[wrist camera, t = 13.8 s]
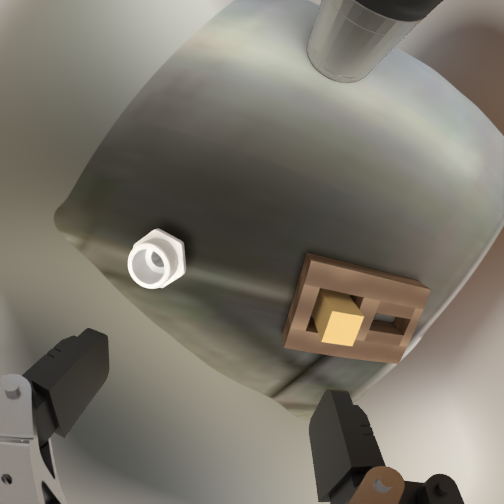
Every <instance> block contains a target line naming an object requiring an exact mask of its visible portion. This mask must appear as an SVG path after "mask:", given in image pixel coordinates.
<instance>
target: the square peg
mask: <svg viewBox="0 0 504 504" xmlns="http://www.w3.org/2000/svg"><path fill="white" fill-rule="evenodd" d="M312 316H313V319H314V322H315V325H316V328H317V331H318V334H319V337H320V340H321V342H325V343H332V344H339V345H346V346H353V344H354V341H355V339H356V336H357V334H358V331H359V329H360V326H361V324H362V321H363V319H364V316H363V314H362V313H361V311H360V310H359V309H358V307H357V306H356V304H355V303H354V302H353V300H352V299H351V298H350V296H349V295H348V294H346V293H341V292H337V291H332V290H327V289H323V288H320V289H319V293H318V296H317V299H316V302H315V305H314V308H313V311H312Z"/></svg>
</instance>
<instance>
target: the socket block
mask: <svg viewBox="0 0 504 504" xmlns="http://www.w3.org/2000/svg"><path fill="white" fill-rule="evenodd" d="M320 288H323V289H327V290H332V291H337V292H341V293H346V294H350V295H352V296H351V299H352V300H353V302H354V303H355V304H356V306H357V307H358V309H359V310H360V311H361V313H362V314H363V316H364V319H363V321H362V324H361V326H360V329H359V331H358V334H357V336H356V339H355V341H354V344H353V346H346V345H339V344H332V343H325V342H321V340H320V337H319V334H318V331H317V328H316V325H315V322H314V320H313V319H310V317H311V314H312V311H313V308H314V305H315V302H316V299H317V296H318V293H319V289H320ZM430 291H431V289H429V288H428V287H426V286H425V285H424V284H422V283H421V282H419V281H417V280H413V279H410V278H406V277H402V276H398V275H394V274H390V273H386V272H382V271H378V270H374V269H370V268H367V267H363V266H359V265H355V264H351V263H347V262H343V261H339V260H335V259H331V258H326V257H322V256H318V255H314V254H310V253H306V256H305V259H304V263H303V266H302V270H301V273H300V277H299V280H298V284H297V287H296V290H295V294H294V297H293V300H292V304H291V307H290V310H289V313H288V316H287V320H286V323H285V326H284V329H283V332H282V335H283V344H284V348H289V349H295V350H300V351H306V352H312V353H318V354H324V355H331V356H337V357H344V358H352V359H360V360H368V361H377V362H386V363H397V364H398V363H399V362H400V360H401V358H402V356H403V354H404V352H405V350H406V348H407V345H408V343H409V341H410V339H411V337H412V335H413V333H414V330H415V328H416V326H417V324H418V321H419V319H420V317H421V314H422V312H423V309H424V307H425V304H426V302H427V299H428V297H429V294H430ZM376 313H380V314H385V315H390V316H396V318H395V320H394V323H389V322H383V321H377V320H373V319H374V316H375V314H376Z"/></svg>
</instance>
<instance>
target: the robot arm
mask: <svg viewBox="0 0 504 504" xmlns="http://www.w3.org/2000/svg"><path fill="white" fill-rule="evenodd" d="M442 1H443V0H321V4H320V7H319V10H318V13H317V16H316V20H315V23H314V26H313V29H312V32H311V35H310V38H309V42H308V46H307V53H308V56H309V59H310V61H311V63H312V64H313V66H314V67H315V68H316V69H317V70H318V71H319V72H320V73H322V74H323V75H325V76H326V77H328V78H330V79H333V80H335V81H340V82H356V81H358V80H361V79H362V78H364V77H365V76H366V75H367V74H368V73H369V72H370V71H371V70H372V69H373V68H374V67H375V66H376V65H377V64H378V63H379V62H380V61H381V60H382V59H383V58H384V57H385V56H386V55H387V54H388V53H389V52H390V51H391V50H392V49H393V48H394V47H395V46H396V45H397V44H398V43H399V42H400V41H401V40H402V39H403V38H404V37H405V36H406V35H407V34H408V33H409V32H410V31H411V30H412V29H413V28H414V27H415V26H416V25H417V24H418V23H419V22H420V21H421V20H422V19H424V18H425V17H426V16H427V15H428V14H429V13H430V12H431V11H432V10H433V9H434V8H435V7H436V6H437V5H438V4H440V3H441V2H442ZM108 373H109V351H108V337H107V335H105V334H103V333H100V332H98V331H95V330H93V329H90V328H87V329H86V330H85V331H83V332H82V333H81V334H80V335H79V336H78V337H76V336H71V337H69V338H66V339H63V340H61V341H60V342H59V343H58V344H57V345H56V346H55V347H54V349H51V350H50V351H49V352H48V353H47V355H44V356H43V357H42V358H41V359H40V360H39V361H38V362H37V363H35V364H34V365H33V366H32V367H31V368H30V369H29V370H28V371H26V372H25V373H24V374H23V375H22V376H20V375H17V374H6V375H3V376H1V377H0V504H68V503H67V501H66V498H65V496H64V494H63V491H62V489H61V486H60V484H59V480H58V476H57V471H56V467H55V461H54V456H53V451H52V445H51V440H50V437H51V436H52V434H53V433H54V432H55V433H57V434H58V435H60V436H62V437H64V438H65V436H66V435H67V433H68V432H69V431H70V429H71V428H72V426H73V425H74V423H75V422H76V421H77V419H78V418H79V416H80V415H81V414H82V412H83V411H84V410H85V408H86V407H87V405H88V404H89V403H90V401H91V400H92V398H93V397H94V396H95V395H96V393H97V392H98V391H99V389H100V388H101V387H102V385H103V384H104V382H105V381H106V379H107V377H108ZM309 436H310V442H311V449H312V457H313V464H314V471H315V478H316V485H317V494H318V502H330V503H331V504H464V502H463V499H462V497H461V495H460V492H459V490H458V487H457V485H456V483H455V482H454V480H452V479H451V478H450V477H449V476H447V475H444V474H436V475H433V476H432V477H430V478H429V479H428V480H427V481H426V482H425V483H418V482H410V481H404V480H403V478H402V476H401V475H400V473H399V472H397V471H396V470H394V469H392V468H390V467H386V466H385V463H384V460H383V458H382V455H381V452H380V449H379V447H378V444H377V441H376V439H375V436H373V431H372V428H371V427H370V423H369V420H368V418H367V415H366V414H365V413H364V411H363V410H362V409H361V408H360V407H359V406H358V405H353V403H352V400H351V397H350V395H349V393H348V392H347V391H340V390H330V389H328V390H326V391H325V393H324V394H323V396H322V398H321V400H320V402H319V404H318V406H317V408H316V410H315V412H314V414H313V416H312V418H311V420H310V425H309Z"/></svg>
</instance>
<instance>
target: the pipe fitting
mask: <svg viewBox="0 0 504 504" xmlns="http://www.w3.org/2000/svg"><path fill="white" fill-rule="evenodd" d="M128 270H129V273H130V275H131V277H132V278H133V280H134V281H135V282H136V283H137V284H139V285H140V286H142V287H145V288H149V289H156V288H159V287H160V288H163V287H165V286H167V285H168V284H170V283H171V282H173V281H175V280H176V279H178V278H179V277H181V276H182V275H184V274H185V272H186V261H185V250H184V243H183V241H181V240H179V239H178V238H176V237H174V236H172V235H170V234H168V233H166V232H165V231H163V230H161V229H159V228H157V229H155V230H153V231H151V232H150V233H149V234H147V235H146V236H145V237H143V238H142V239H141V240H139V241H138V242H137V243H135V244H134V246H133V249H132V251H131V252H130V254H129V257H128Z"/></svg>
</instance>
